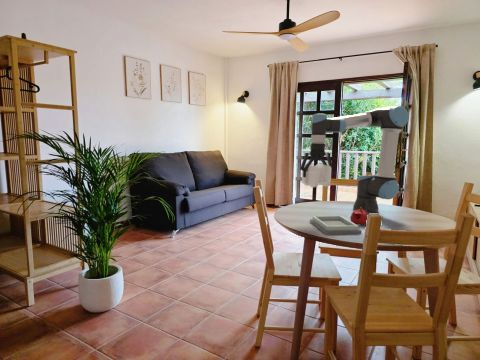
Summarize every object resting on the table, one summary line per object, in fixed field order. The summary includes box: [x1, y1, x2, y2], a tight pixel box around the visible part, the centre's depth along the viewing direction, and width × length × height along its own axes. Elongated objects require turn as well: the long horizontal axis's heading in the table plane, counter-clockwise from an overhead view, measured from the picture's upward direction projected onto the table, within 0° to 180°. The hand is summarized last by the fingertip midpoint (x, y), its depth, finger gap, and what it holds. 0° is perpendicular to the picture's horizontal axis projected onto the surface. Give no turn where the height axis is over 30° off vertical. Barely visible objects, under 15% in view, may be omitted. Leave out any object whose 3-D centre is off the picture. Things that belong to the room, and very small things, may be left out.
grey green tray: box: [309, 215, 362, 235], centre depth 158 cm, size 18×22×4 cm
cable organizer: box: [301, 163, 332, 188], centre depth 169 cm, size 15×11×12 cm
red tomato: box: [349, 207, 369, 226], centre depth 166 cm, size 10×10×9 cm
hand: (316, 183), depth 169 cm, fingers closed on cable organizer, 11 cm apart
